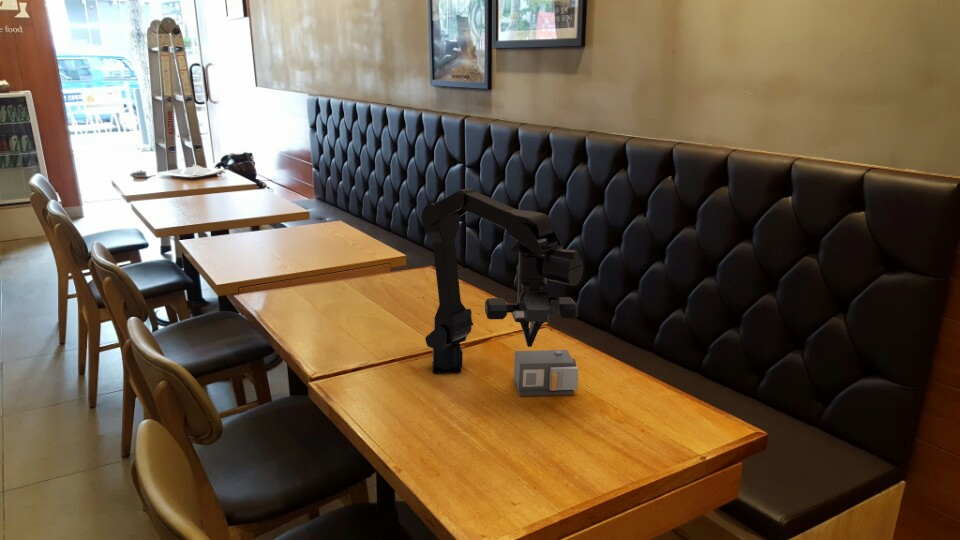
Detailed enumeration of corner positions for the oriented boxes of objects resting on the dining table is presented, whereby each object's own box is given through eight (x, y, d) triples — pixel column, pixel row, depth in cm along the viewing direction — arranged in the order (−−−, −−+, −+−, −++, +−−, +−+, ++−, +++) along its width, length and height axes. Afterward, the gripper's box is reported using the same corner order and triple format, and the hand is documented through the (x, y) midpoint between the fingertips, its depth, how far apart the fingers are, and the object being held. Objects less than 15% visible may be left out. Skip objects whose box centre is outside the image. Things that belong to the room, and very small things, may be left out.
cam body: (519, 396, 146) (520, 363, 144) (513, 379, 154) (514, 348, 152) (579, 394, 148) (582, 362, 145) (571, 377, 156) (572, 347, 153)
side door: (551, 392, 145) (552, 371, 144) (549, 388, 147) (550, 367, 146) (578, 391, 146) (579, 370, 145) (575, 387, 148) (577, 366, 147)
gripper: (491, 288, 129) (489, 363, 134) (586, 286, 131) (581, 360, 136) (485, 271, 140) (483, 341, 144) (573, 270, 142) (569, 339, 146)
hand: (529, 346), depth 142 cm, fingers closed
